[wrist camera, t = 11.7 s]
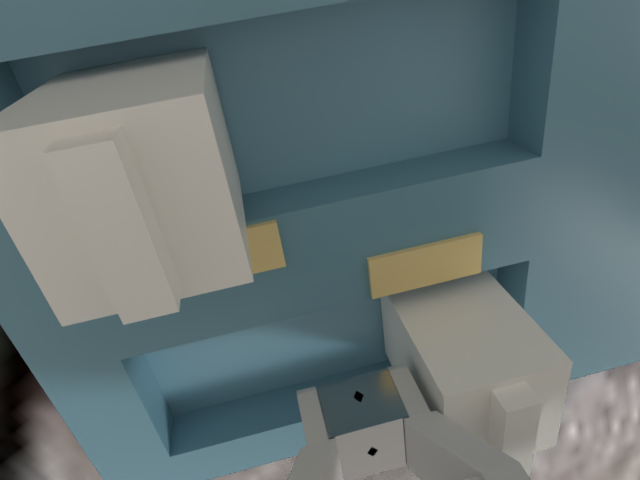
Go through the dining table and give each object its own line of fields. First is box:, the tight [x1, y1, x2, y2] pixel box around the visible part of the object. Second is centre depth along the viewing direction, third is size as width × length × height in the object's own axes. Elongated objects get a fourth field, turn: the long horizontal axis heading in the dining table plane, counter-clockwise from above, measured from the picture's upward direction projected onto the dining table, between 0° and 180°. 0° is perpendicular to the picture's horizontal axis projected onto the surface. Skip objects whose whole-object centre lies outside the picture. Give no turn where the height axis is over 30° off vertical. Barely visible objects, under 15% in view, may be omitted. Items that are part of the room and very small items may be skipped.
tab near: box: [0, 47, 254, 327], centre depth 8 cm, size 3×3×5 cm
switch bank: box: [0, 0, 640, 480], centre depth 13 cm, size 18×14×4 cm
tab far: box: [380, 271, 573, 476], centre depth 12 cm, size 3×3×5 cm
